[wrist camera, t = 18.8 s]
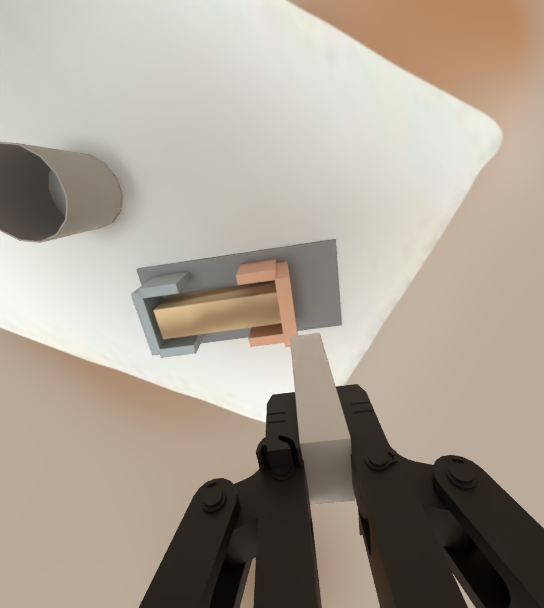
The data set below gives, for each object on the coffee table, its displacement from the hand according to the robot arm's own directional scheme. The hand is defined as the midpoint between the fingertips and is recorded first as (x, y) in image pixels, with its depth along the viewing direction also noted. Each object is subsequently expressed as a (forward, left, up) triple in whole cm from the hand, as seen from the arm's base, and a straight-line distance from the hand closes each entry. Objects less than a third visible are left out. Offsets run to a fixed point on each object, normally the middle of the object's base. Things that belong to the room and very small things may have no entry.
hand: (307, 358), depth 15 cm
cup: (-11, -23, -25) cm, 35 cm away
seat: (+5, -7, -24) cm, 26 cm away
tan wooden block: (+5, -10, -24) cm, 26 cm away
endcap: (+5, -3, -24) cm, 25 cm away
